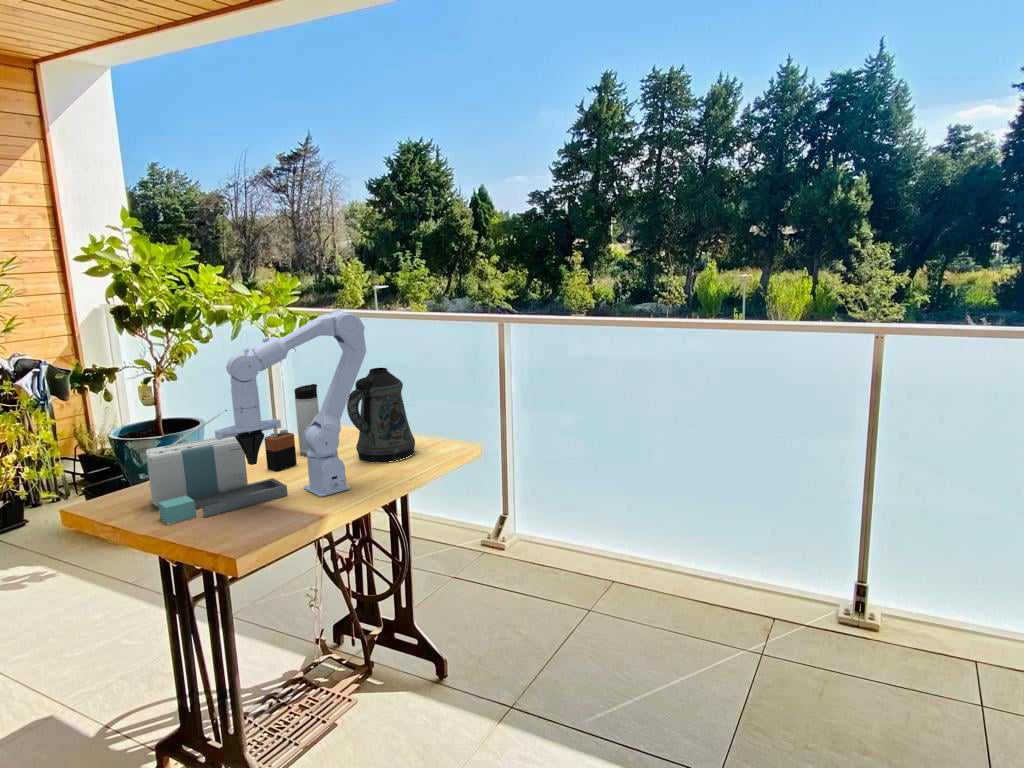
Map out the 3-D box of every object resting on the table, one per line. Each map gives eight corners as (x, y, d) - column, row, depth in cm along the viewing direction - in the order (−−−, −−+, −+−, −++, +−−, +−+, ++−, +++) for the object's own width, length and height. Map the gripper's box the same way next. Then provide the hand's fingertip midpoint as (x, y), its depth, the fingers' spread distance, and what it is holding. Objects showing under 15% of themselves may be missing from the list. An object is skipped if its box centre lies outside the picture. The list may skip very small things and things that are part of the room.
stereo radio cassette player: (155, 512, 159) (144, 427, 156) (149, 502, 166) (138, 420, 162) (249, 491, 171) (241, 412, 167) (240, 483, 178) (232, 407, 174)
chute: (273, 487, 173) (272, 478, 173) (287, 495, 167) (286, 485, 167) (193, 508, 161) (191, 497, 160) (205, 517, 155) (203, 506, 154)
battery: (297, 465, 192) (294, 430, 190) (277, 472, 186) (273, 435, 184) (287, 463, 194) (284, 428, 192) (266, 469, 188) (263, 433, 187)
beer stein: (422, 447, 206) (417, 363, 201) (403, 467, 187) (397, 375, 182) (368, 446, 208) (362, 364, 203) (344, 466, 189) (337, 375, 184)
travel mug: (327, 452, 203) (321, 385, 200) (307, 457, 199) (301, 388, 195) (315, 448, 207) (309, 382, 204) (295, 453, 203) (289, 386, 199)
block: (196, 517, 155) (194, 500, 155) (168, 525, 151) (165, 508, 151) (188, 512, 159) (186, 495, 158) (160, 519, 155) (158, 502, 154)
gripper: (270, 398, 167) (275, 453, 169) (207, 409, 157) (214, 467, 160) (282, 403, 162) (287, 459, 164) (218, 414, 152) (225, 473, 155)
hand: (252, 463), depth 162 cm, fingers closed
